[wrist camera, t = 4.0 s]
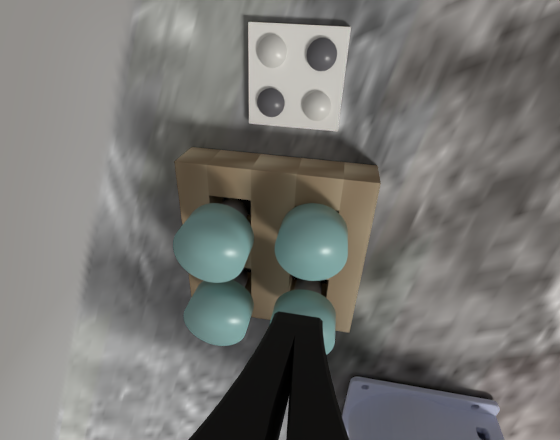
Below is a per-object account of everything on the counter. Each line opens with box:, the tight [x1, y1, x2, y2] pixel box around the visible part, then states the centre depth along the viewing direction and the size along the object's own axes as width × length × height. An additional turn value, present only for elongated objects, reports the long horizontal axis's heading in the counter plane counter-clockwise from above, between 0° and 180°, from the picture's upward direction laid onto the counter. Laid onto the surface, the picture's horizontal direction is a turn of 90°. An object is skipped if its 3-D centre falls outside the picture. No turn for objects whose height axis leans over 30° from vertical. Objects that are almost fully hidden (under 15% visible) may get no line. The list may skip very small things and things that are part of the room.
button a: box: [269, 278, 336, 355], centre depth 17 cm, size 3×3×4 cm
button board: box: [174, 147, 381, 333], centre depth 18 cm, size 9×9×2 cm
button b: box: [183, 268, 254, 346], centre depth 17 cm, size 3×3×4 cm
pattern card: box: [248, 22, 351, 131], centre depth 14 cm, size 4×4×1 cm
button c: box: [275, 203, 348, 281], centre depth 16 cm, size 3×3×4 cm
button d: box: [173, 199, 254, 283], centre depth 15 cm, size 3×3×4 cm
